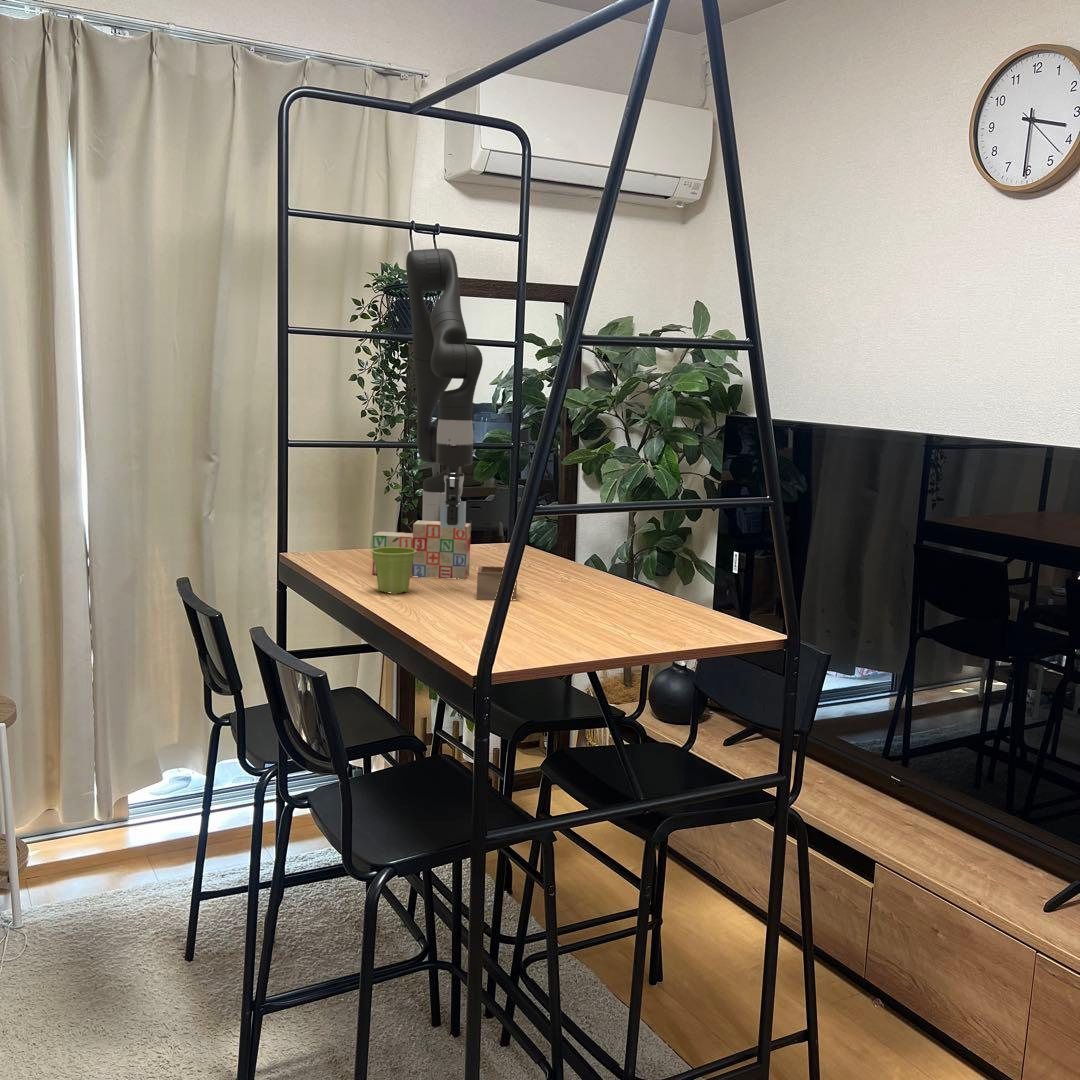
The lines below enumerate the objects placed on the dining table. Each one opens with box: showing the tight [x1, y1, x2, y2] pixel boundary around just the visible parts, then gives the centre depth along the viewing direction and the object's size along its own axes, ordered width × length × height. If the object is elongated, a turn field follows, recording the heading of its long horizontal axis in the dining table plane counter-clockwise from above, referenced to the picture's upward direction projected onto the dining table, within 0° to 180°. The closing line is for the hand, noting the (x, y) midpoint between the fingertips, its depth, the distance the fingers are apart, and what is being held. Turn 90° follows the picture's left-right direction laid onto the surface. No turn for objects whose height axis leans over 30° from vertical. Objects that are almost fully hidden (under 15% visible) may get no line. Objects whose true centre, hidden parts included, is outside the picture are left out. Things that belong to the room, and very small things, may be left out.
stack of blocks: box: [371, 519, 472, 580], centre depth 237 cm, size 21×6×12 cm, turn 86°
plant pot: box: [370, 547, 417, 594], centre depth 217 cm, size 9×9×9 cm
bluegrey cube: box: [440, 500, 467, 528], centre depth 220 cm, size 5×5×5 cm
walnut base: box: [476, 565, 518, 601], centre depth 216 cm, size 8×8×6 cm
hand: (453, 522), depth 220 cm, fingers closed on bluegrey cube, 5 cm apart
